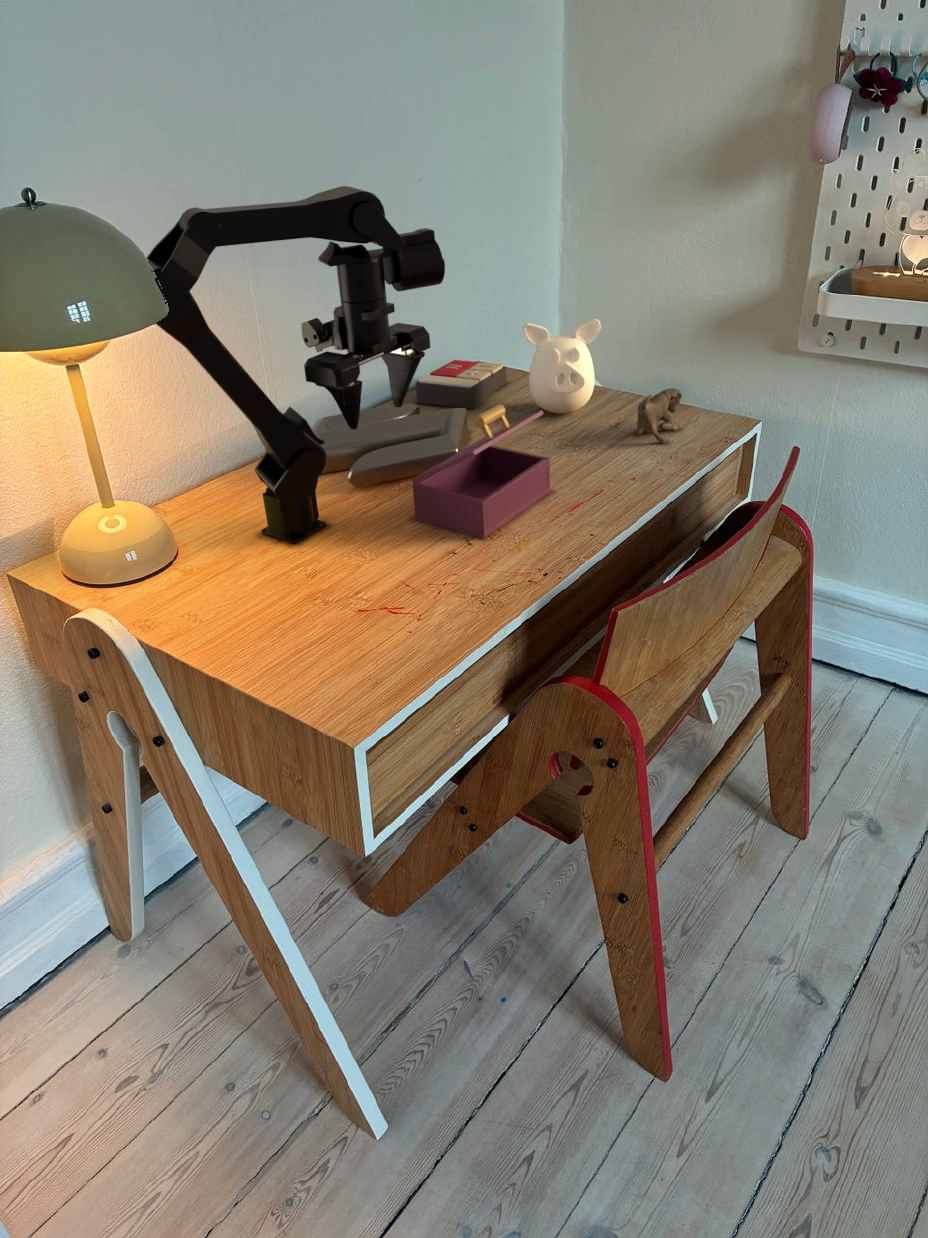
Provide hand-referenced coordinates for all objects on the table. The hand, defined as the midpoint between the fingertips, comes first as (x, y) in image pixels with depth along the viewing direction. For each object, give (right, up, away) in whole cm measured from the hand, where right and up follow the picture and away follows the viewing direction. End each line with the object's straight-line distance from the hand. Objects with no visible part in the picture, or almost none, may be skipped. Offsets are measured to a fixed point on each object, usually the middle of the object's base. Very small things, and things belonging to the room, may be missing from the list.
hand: (376, 417), depth 129 cm
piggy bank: (+29, +8, +35) cm, 46 cm away
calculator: (+11, +14, +46) cm, 49 cm away
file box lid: (+14, -4, +1) cm, 14 cm away
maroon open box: (+14, -11, +5) cm, 19 cm away
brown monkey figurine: (+43, +3, +25) cm, 50 cm away
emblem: (0, -1, +23) cm, 23 cm away
